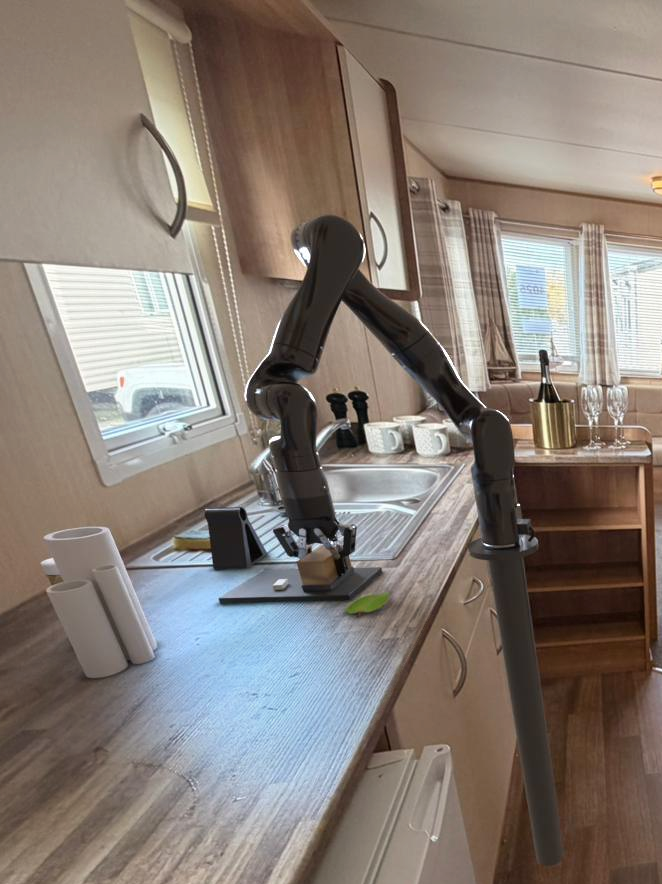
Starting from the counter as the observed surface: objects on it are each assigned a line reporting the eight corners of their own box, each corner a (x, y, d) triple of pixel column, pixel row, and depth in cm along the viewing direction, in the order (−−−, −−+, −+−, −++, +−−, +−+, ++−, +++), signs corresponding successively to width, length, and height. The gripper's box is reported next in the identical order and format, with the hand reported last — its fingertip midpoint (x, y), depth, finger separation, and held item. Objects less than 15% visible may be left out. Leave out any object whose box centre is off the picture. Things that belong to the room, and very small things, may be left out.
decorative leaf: (336, 611, 119) (334, 606, 119) (382, 593, 126) (381, 589, 126) (360, 618, 116) (359, 613, 115) (406, 599, 123) (405, 595, 122)
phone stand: (247, 568, 135) (229, 513, 130) (213, 569, 133) (194, 514, 128) (267, 554, 143) (251, 502, 138) (236, 555, 141) (218, 502, 136)
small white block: (288, 583, 126) (287, 578, 125) (283, 589, 123) (281, 584, 123) (279, 584, 125) (278, 579, 125) (273, 590, 123) (272, 585, 122)
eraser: (354, 571, 133) (347, 544, 130) (331, 590, 124) (323, 561, 121) (328, 572, 132) (320, 545, 129) (302, 591, 123) (294, 562, 120)
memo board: (382, 572, 136) (381, 567, 136) (350, 600, 123) (348, 595, 122) (266, 574, 132) (265, 569, 132) (220, 603, 119) (218, 598, 118)
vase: (106, 648, 102) (52, 529, 94) (165, 639, 106) (119, 524, 98) (80, 681, 94) (19, 553, 86) (147, 669, 97) (94, 546, 89)
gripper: (356, 487, 125) (375, 568, 132) (273, 486, 122) (297, 569, 129) (337, 496, 118) (359, 581, 125) (250, 496, 116) (277, 583, 122)
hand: (327, 574), depth 127 cm, fingers closed on eraser, 4 cm apart
